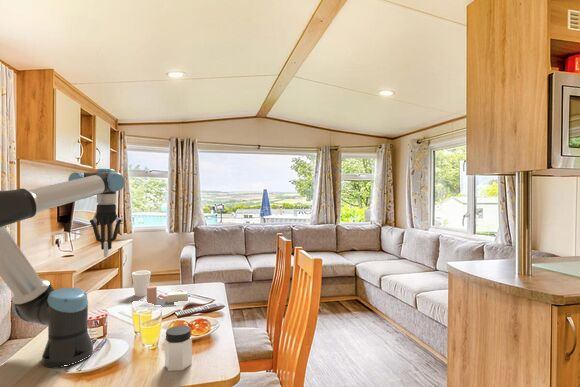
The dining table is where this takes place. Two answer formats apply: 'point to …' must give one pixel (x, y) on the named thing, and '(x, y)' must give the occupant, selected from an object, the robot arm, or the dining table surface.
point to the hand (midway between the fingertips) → (106, 256)
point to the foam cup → (141, 282)
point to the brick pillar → (152, 294)
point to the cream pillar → (177, 297)
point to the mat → (165, 302)
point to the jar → (178, 348)
